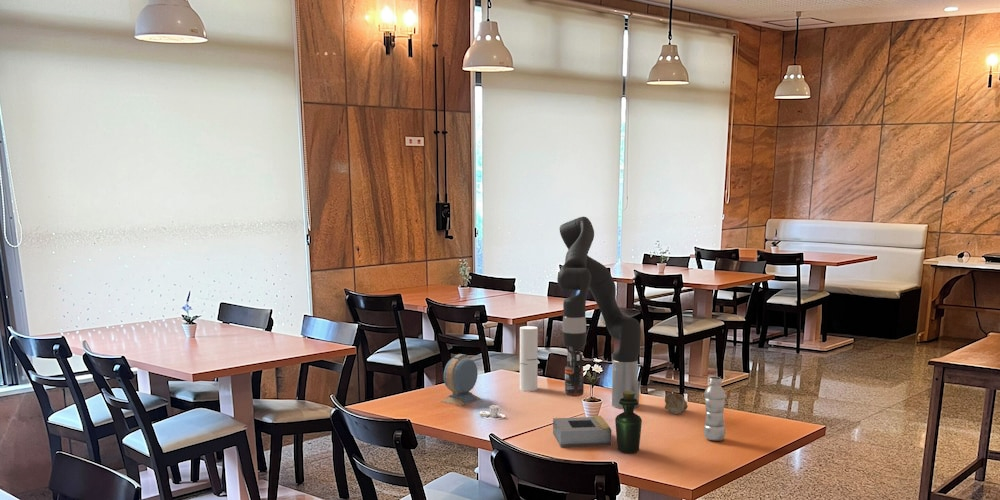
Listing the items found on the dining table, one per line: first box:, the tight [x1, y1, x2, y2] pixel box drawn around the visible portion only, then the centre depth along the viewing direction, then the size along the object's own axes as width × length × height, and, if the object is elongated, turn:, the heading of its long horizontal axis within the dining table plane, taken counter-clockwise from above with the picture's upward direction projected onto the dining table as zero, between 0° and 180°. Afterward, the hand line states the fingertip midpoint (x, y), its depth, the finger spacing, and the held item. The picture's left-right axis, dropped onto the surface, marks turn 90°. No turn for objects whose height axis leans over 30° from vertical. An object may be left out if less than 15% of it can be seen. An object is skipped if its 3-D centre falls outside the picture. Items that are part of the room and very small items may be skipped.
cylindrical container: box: [519, 325, 539, 392], centre depth 308 cm, size 7×7×25 cm
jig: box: [552, 415, 613, 448], centre depth 245 cm, size 16×14×6 cm
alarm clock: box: [440, 353, 481, 406], centre depth 292 cm, size 14×10×18 cm
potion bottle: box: [614, 391, 643, 455], centre depth 234 cm, size 8×8×18 cm
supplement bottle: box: [564, 359, 585, 398], centre depth 245 cm, size 6×6×11 cm
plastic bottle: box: [703, 376, 726, 442], centre depth 244 cm, size 6×7×20 cm
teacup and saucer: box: [479, 404, 506, 421], centre depth 271 cm, size 9×8×4 cm
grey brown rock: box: [664, 392, 689, 415], centre depth 276 cm, size 9×7×8 cm
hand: (574, 382), depth 246 cm, fingers closed on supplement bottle, 6 cm apart
